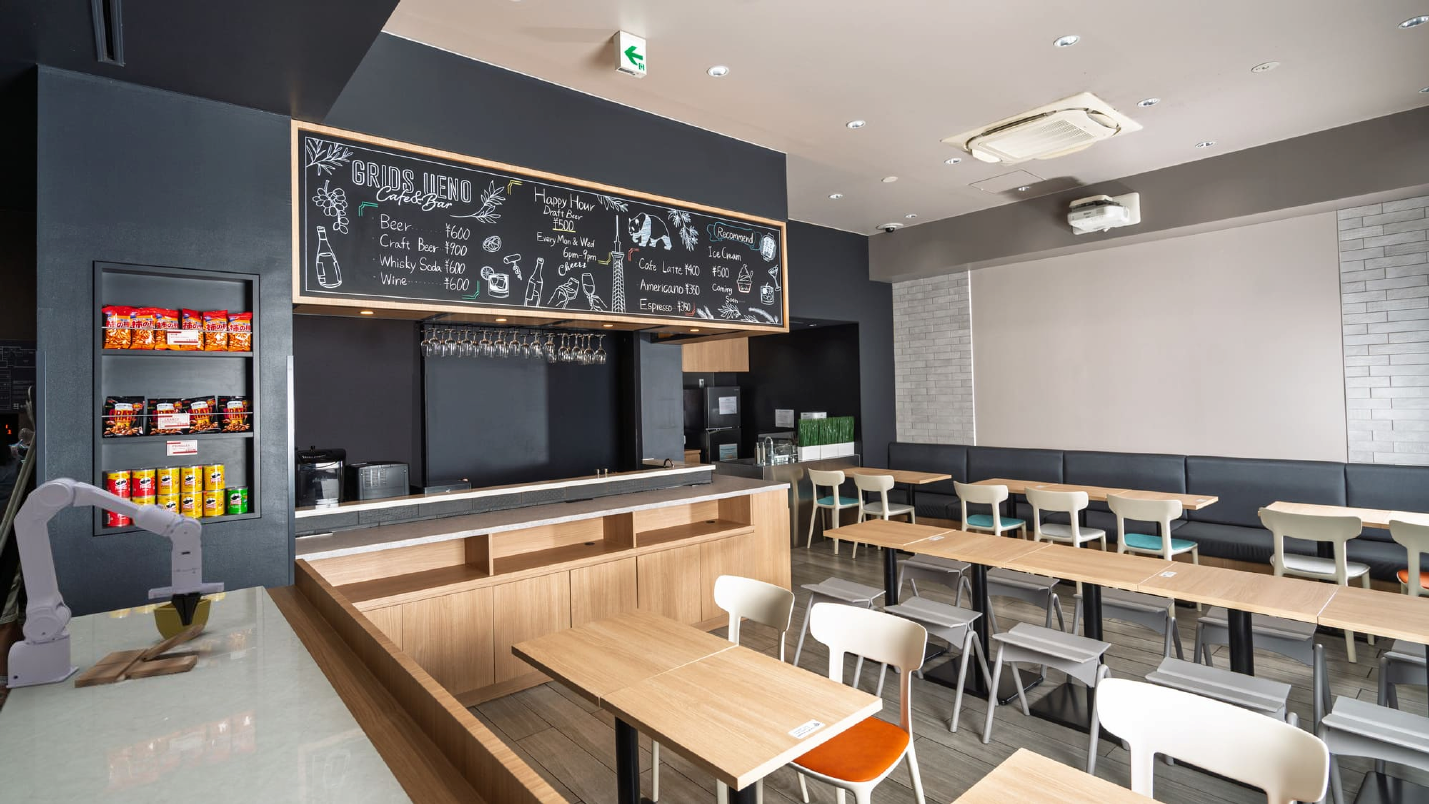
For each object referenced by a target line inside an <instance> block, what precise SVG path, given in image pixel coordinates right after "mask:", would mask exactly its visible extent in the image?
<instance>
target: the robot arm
mask: <svg viewBox="0 0 1429 804" xmlns="http://www.w3.org/2000/svg"><path fill="white" fill-rule="evenodd" d="M72 503H73V507H84V506H95V507H98V508H102V509H104V510H107V511H110V512H113V513H115V514H119V515H121V516H125V517H127V518H131V519H132V521H133V522H134V526H135V527H137V528H140V529H142V530H146V531H149V532H151V533H153V534H157V535H159V536H162V537H169V538H170V540H171V542H172V550H171V586H166V587H158V588H151V589H150V590H148V600H151V599H155V598H168V597H171V599H170V602H171V603H172V604H173V606H174V607H175V608H176V610H177V612H178V614H179V616H180V618H181V621H182V626H188V625H191V624H192V620H193V616H194V612H195V609H196V607H197V605H198V602H199V600H200V599H202V597H203V594H208V593H209V594H210V593H223V592H224V590H225V582H224V581H223V582H207V583H206V582H203V581H202V580H203V579H202V569H203V567H202V565H203V564H202V562H203V561H202V547H201V546H202V545H201V544H202V540H201V535H202V530H203V528H202V524H201V522H200V521H199V520H198V519H195V518H194V516H186V514H185V513H183V512H181V513H180V514H179V513H177V512H175V511H172V510H169V509H167V508H164V507H165V505H164V504H161V503H158V504H154V503H148V504H145V505H140V504H138V503H136V502H133V501H131V500H129V499H126V498H124V497H122V496H119V495H116V494H115V493H112V492H109V491H107V490H104V489H102V488H101V487H98V486H95V485H92V484H89V483H87V482H82V481H79V482H78V481H76V480H75V479H73V478H70V477H58V478H55V479H52V480H50V481H47V482H45V483H42V484H41V485H39V486H38V487H37V488H36V489H34V490H32V491H31V492H30V493H29V494H28V495H27V498H26V499H25V501H24V503H23V504H22V506H21V508H20V509H19V511H18V512H17V514H16V515H15V517H14V519H13V526H14V527H13V528H14V531H15V537H16V543H17V548H18V553H19V559H20V564H21V570H22V571H21V572H22V574H23V576H22V577H23V580H24V581H23V582H24V586H25V592H26V596H27V604H26V609H25V614H26V615H25V616H26V619H25V622H24V624H23V627H22V631H23V635H24V637H25V639H24V640H21V641H16V642H15V643H13V644H12V646H11V647H10V650H9V652H8V657H7V677H8V678H7V681H8V682H7V683H8V684H7V685H6V689H10V688H12V689H13V688H18V687H19V688H20V687H27V686H28V687H29V686H34V685H42V684H52V683H58V682H63V681H64V680H66V679H67V678H68V677H70V676H72V675H73V674H74V673H75V672H77V671H78V670H79V669H80V667H79V666H73V667H72V666H71V660H72V659H71V631H70V630H69V629H68V628H67V627H66V626H67V625H68V624H69V622H70V621H71V618H72V610H71V609H70V608H69V607H68V606H67V605H66V604H65V602H64V599H63V596H62V594H61V592H60V591H59V585H58V581H57V575H56V570H55V565H54V559H53V554H52V553H53V552H52V549H51V543H50V537H49V536H50V535H49V533H48V531H49V530H48V525H47V523H48V522H49V521H50V520H51V519H52V518H53V517H54V516H55V515H56V514H57V513H58V512H59V511H61V510H62V509H63V508H65V507H67V506H69V505H71V504H72Z"/></svg>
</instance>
